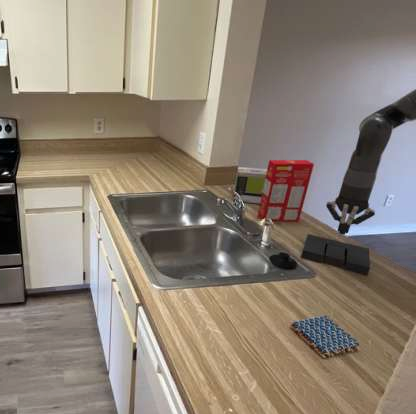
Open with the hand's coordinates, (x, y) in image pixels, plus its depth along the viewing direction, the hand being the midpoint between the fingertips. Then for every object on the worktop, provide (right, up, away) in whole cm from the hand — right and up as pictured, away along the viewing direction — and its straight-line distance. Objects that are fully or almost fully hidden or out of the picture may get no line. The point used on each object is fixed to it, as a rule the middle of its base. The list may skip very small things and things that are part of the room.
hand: (342, 233), depth 107 cm
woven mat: (-26, -23, -28) cm, 44 cm away
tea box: (-5, +12, +53) cm, 55 cm away
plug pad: (0, -9, +4) cm, 10 cm away
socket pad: (+1, -8, +5) cm, 10 cm away
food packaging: (-3, +3, +33) cm, 33 cm away
